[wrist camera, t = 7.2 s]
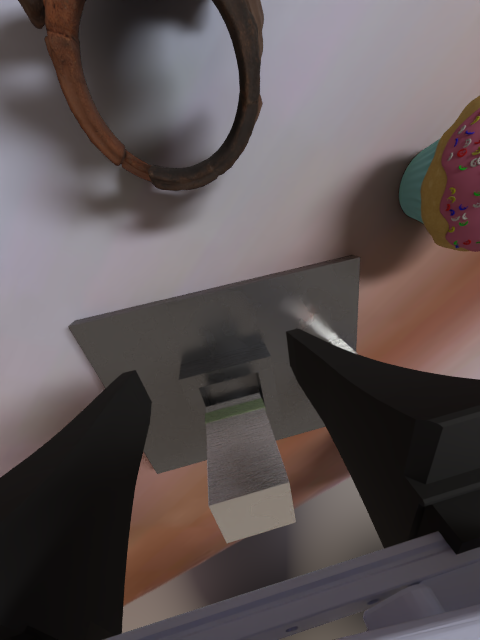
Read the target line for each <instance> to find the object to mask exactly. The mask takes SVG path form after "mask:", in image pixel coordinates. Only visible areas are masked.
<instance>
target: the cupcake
mask: <svg viewBox="0 0 480 640" xmlns="http://www.w3.org/2000/svg"><path fill="white" fill-rule="evenodd" d="M399 201H400V205H401V208H402V210H403V211H404V212H405V214H406V215H408V216H409V217H411V218H413V219H416V220H418V221H420V222H422V223H423V224H424V225H425V227H426V229H427V231H428V232H429V233H430V235H431V236H432V237H433V240H434V242H435V243H436V244H437V245H439V246H442V247H445V248H450V249H454V250H458V251H475V252H476V251H480V96H478V97H477V98H475V99H474V100H473V101H471V102H470V103H469V104H468V105H467V106H466V107H465V108H464V110H463V111H462V113H461V114H460V116H459V117H458V119H457V120H456V121H455V123H454V124H453V125H452V126H451V127H450V128H449V129H448V130H447V131H446V132H445V133H444V134H443V136H442V137H441V138H440V139H439V140H437V141H436V142H435V143H433V144H431V145H430V146H428V147H427V148H425V149H424V150H422V151H421V152H420V153H419V154H418V155H417V156H416V157H415V158H414V159H413V160H412V161H411V162H410V164H409V165H408V167H407V169H406V170H405V172H404V175H403V177H402V180H401V183H400V188H399Z"/></svg>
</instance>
